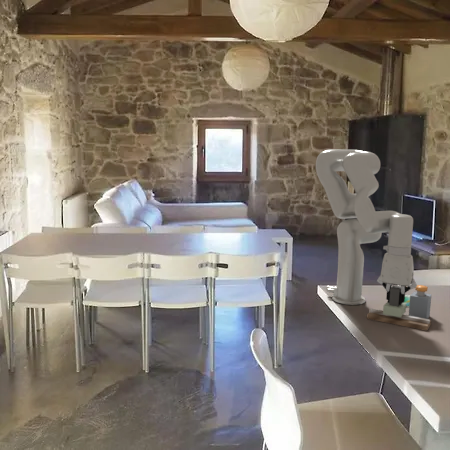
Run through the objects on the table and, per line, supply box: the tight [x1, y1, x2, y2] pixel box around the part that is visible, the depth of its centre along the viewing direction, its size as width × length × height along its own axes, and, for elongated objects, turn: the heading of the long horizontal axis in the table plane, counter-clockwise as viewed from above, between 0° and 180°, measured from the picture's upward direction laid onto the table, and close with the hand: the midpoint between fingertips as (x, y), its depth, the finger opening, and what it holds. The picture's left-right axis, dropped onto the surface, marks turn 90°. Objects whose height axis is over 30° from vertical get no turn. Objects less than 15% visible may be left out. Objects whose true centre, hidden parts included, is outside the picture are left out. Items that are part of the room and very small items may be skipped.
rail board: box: [366, 308, 432, 332], centre depth 183 cm, size 20×7×2 cm, turn 59°
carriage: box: [382, 285, 407, 317], centre depth 182 cm, size 6×7×9 cm
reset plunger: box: [414, 284, 429, 297], centre depth 186 cm, size 4×4×5 cm
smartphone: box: [404, 293, 411, 308], centre depth 205 cm, size 7×1×15 cm
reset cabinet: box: [408, 291, 432, 319], centre depth 187 cm, size 6×6×8 cm
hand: (395, 302), depth 182 cm, fingers closed on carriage, 3 cm apart
